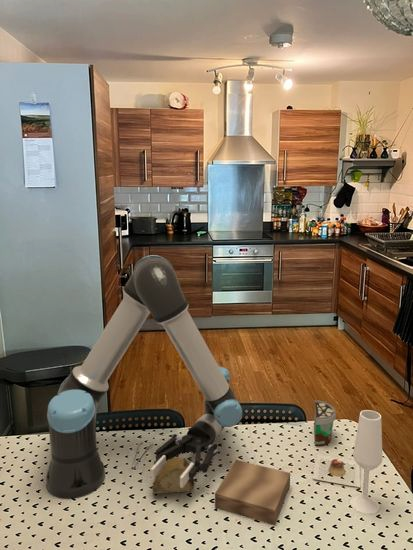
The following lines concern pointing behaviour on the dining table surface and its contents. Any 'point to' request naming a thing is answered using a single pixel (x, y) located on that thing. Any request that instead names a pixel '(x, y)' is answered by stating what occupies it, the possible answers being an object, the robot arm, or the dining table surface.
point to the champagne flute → (367, 456)
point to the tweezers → (142, 453)
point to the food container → (323, 423)
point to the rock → (172, 477)
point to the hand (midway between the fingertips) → (166, 478)
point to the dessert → (336, 468)
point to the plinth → (253, 491)
